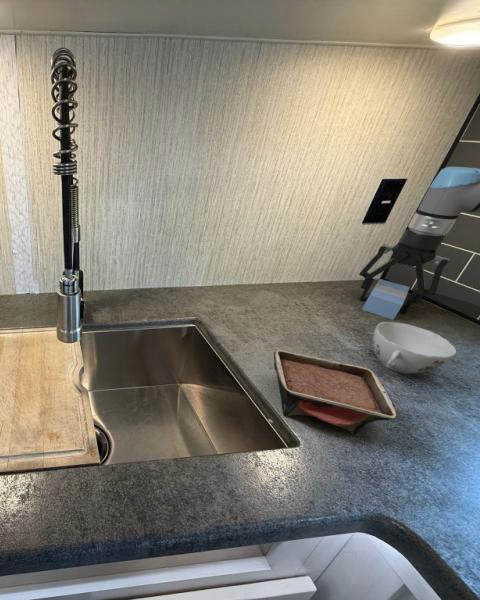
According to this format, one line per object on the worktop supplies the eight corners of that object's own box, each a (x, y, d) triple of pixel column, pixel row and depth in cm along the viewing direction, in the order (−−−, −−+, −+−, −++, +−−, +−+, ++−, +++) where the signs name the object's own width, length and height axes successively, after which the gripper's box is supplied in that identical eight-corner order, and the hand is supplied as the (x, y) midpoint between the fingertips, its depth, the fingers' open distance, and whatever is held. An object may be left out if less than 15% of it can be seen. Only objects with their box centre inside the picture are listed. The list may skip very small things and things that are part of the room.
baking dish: (369, 458, 53) (411, 421, 48) (260, 411, 58) (288, 372, 53) (345, 402, 65) (377, 367, 60) (256, 367, 70) (278, 332, 65)
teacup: (375, 341, 78) (392, 314, 74) (443, 372, 69) (466, 344, 64) (344, 361, 72) (361, 333, 67) (414, 398, 62) (438, 369, 58)
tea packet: (371, 292, 99) (379, 278, 97) (400, 301, 95) (410, 286, 92) (361, 309, 90) (369, 294, 88) (393, 320, 86) (403, 304, 83)
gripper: (370, 224, 85) (335, 295, 97) (488, 246, 72) (431, 325, 83) (375, 219, 90) (341, 287, 101) (488, 239, 76) (433, 315, 88)
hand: (381, 304), depth 92 cm, fingers open, 9 cm apart
